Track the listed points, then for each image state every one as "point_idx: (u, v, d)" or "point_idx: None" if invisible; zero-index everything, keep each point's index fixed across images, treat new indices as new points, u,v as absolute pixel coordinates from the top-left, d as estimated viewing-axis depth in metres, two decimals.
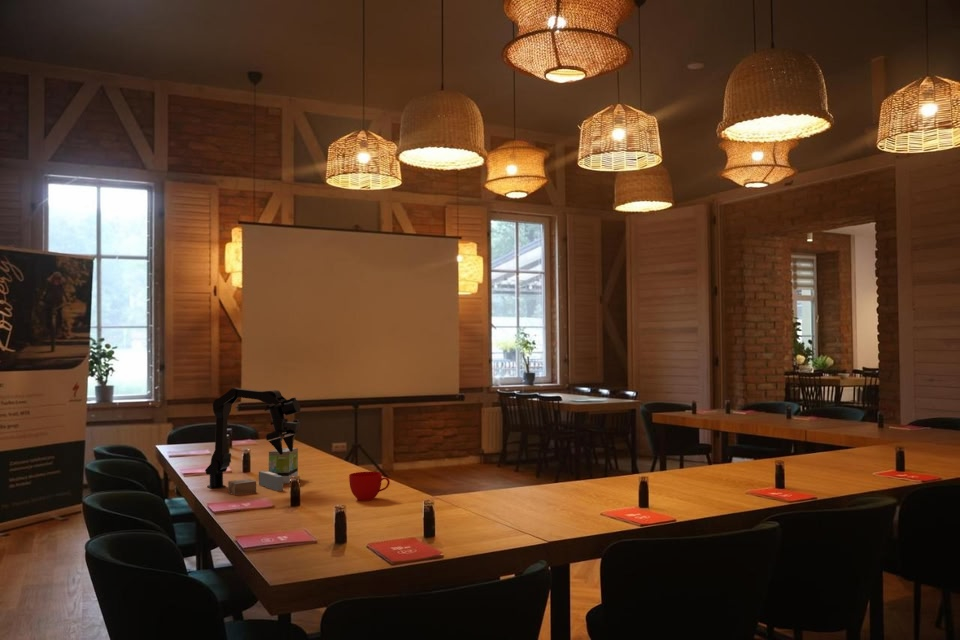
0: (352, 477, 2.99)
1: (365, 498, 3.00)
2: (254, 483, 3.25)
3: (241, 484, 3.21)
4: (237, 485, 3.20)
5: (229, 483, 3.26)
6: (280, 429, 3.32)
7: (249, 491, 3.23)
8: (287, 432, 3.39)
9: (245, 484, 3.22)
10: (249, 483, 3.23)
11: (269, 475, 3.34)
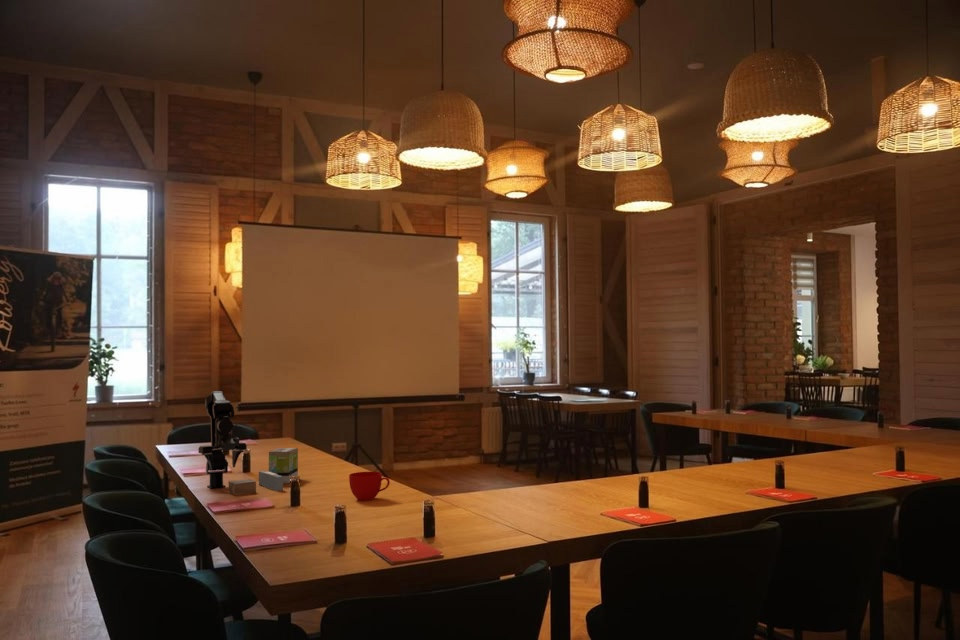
0: (352, 477, 2.99)
1: (365, 498, 3.00)
2: (254, 483, 3.24)
3: (241, 484, 3.21)
4: (237, 485, 3.20)
5: (229, 483, 3.26)
6: (217, 444, 3.19)
7: (249, 491, 3.23)
8: None
9: (245, 484, 3.22)
10: (249, 483, 3.23)
11: (269, 475, 3.34)
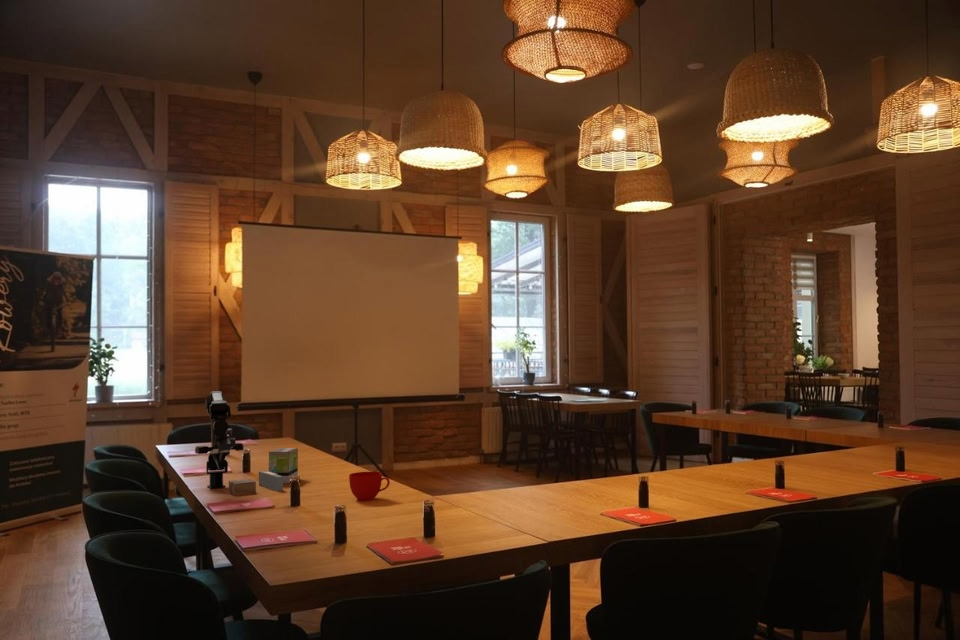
0: (352, 477, 2.99)
1: (365, 498, 3.00)
2: (254, 483, 3.24)
3: (240, 484, 3.21)
4: (236, 485, 3.20)
5: (229, 483, 3.26)
6: None
7: (249, 491, 3.23)
8: (219, 448, 3.21)
9: (244, 484, 3.22)
10: (249, 483, 3.23)
11: (269, 475, 3.34)
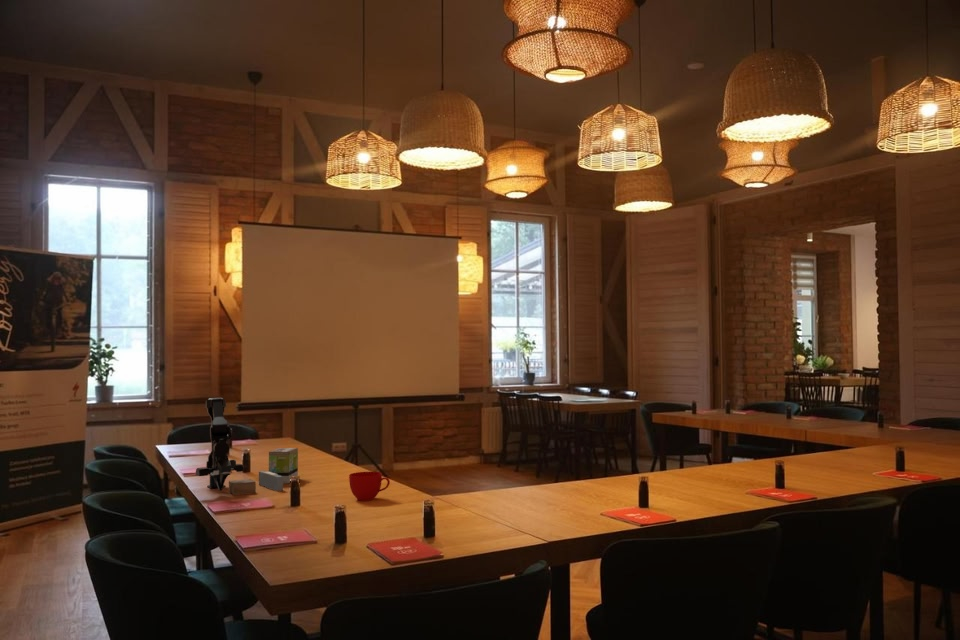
0: (352, 477, 2.99)
1: (365, 498, 3.00)
2: (253, 483, 3.24)
3: (240, 484, 3.21)
4: (236, 485, 3.20)
5: (229, 483, 3.26)
6: (214, 466, 3.18)
7: (248, 491, 3.23)
8: None
9: (244, 484, 3.22)
10: (248, 483, 3.23)
11: (269, 475, 3.34)
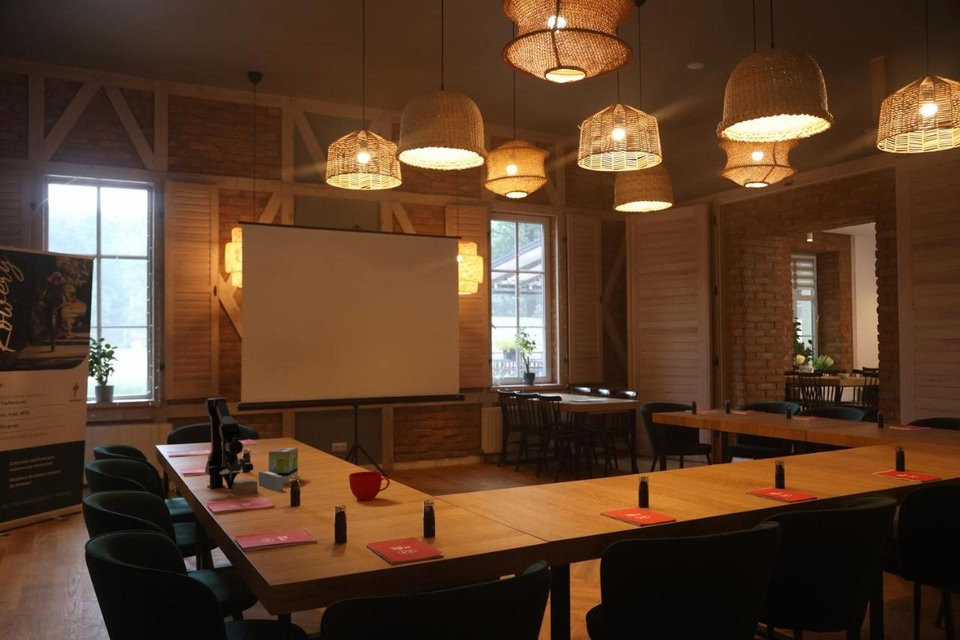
0: (352, 477, 2.99)
1: (365, 498, 3.00)
2: (255, 483, 3.25)
3: (242, 484, 3.22)
4: (238, 485, 3.21)
5: None
6: None
7: (250, 491, 3.24)
8: None
9: (246, 484, 3.23)
10: (250, 483, 3.24)
11: (269, 475, 3.34)
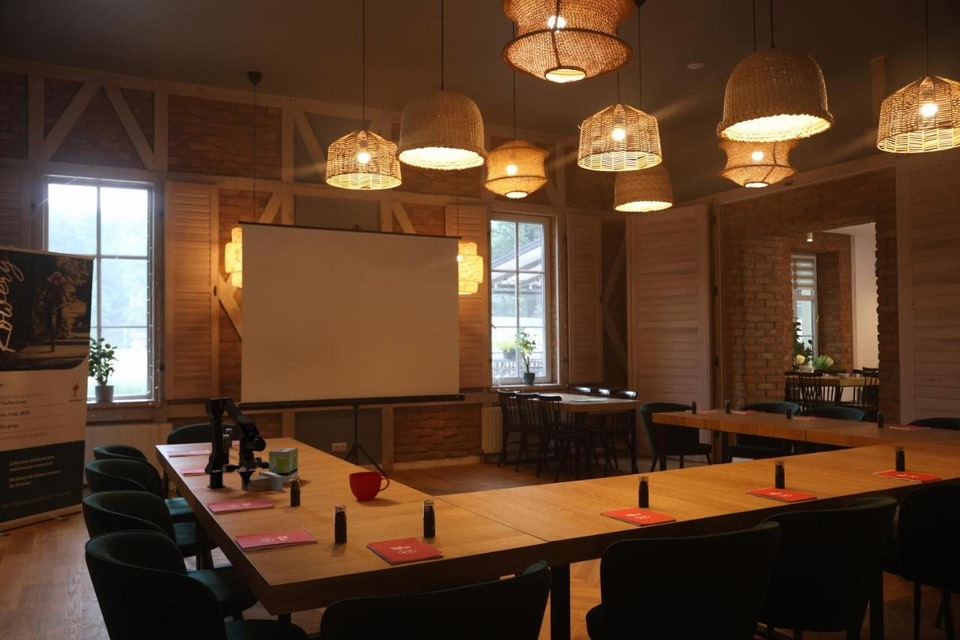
0: (352, 477, 2.99)
1: (365, 498, 3.00)
2: (269, 479, 3.33)
3: (257, 480, 3.29)
4: (253, 481, 3.28)
5: None
6: (241, 463, 3.25)
7: (264, 487, 3.31)
8: None
9: (261, 480, 3.30)
10: (264, 479, 3.31)
11: (269, 475, 3.34)
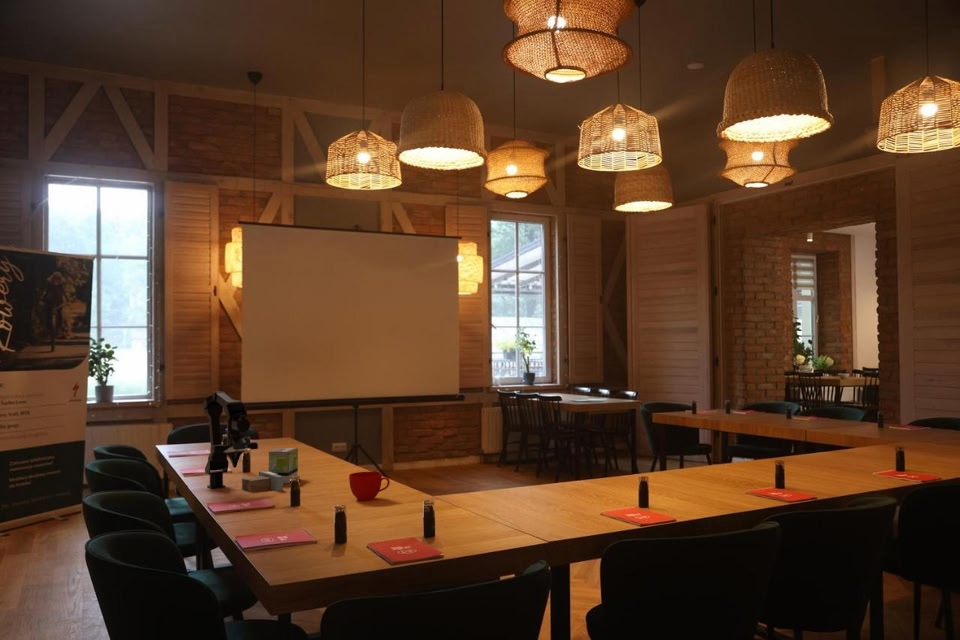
0: (352, 477, 2.99)
1: (365, 498, 3.00)
2: (268, 480, 3.33)
3: (256, 481, 3.29)
4: (253, 482, 3.28)
5: (243, 480, 3.33)
6: None
7: (264, 488, 3.31)
8: None
9: (260, 481, 3.30)
10: (264, 480, 3.31)
11: (269, 475, 3.34)
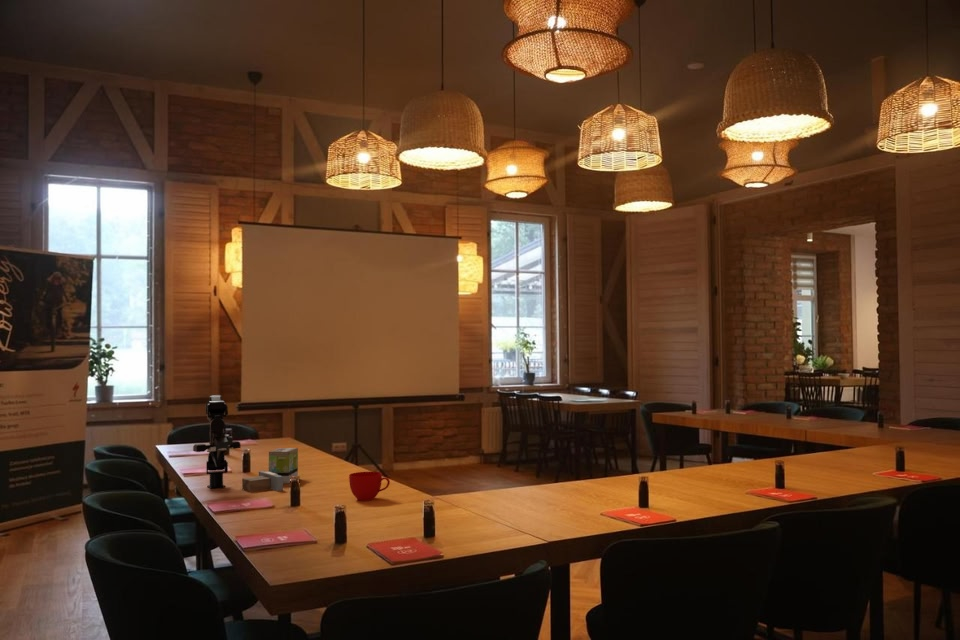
0: (352, 477, 2.99)
1: (365, 498, 3.00)
2: (268, 480, 3.32)
3: (256, 481, 3.29)
4: (252, 482, 3.28)
5: (243, 480, 3.33)
6: (211, 442, 3.26)
7: (263, 488, 3.31)
8: None
9: (260, 481, 3.30)
10: (263, 480, 3.31)
11: (269, 475, 3.34)
